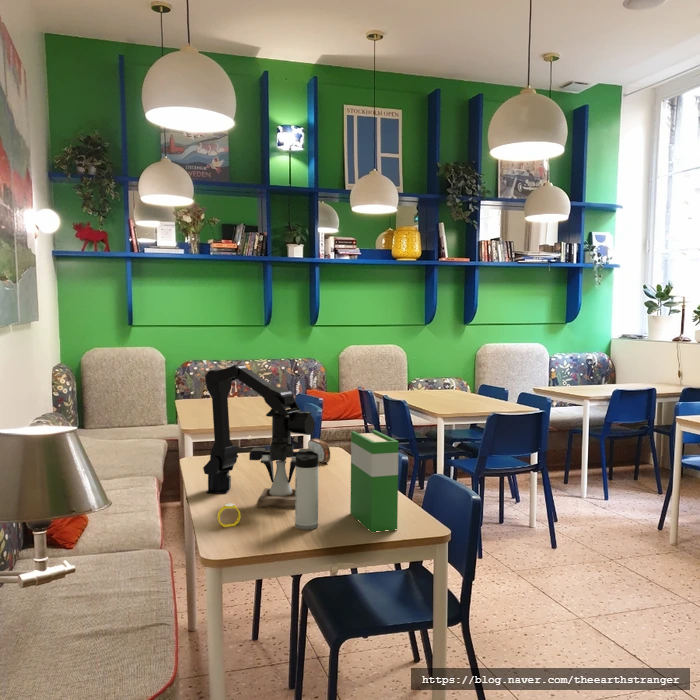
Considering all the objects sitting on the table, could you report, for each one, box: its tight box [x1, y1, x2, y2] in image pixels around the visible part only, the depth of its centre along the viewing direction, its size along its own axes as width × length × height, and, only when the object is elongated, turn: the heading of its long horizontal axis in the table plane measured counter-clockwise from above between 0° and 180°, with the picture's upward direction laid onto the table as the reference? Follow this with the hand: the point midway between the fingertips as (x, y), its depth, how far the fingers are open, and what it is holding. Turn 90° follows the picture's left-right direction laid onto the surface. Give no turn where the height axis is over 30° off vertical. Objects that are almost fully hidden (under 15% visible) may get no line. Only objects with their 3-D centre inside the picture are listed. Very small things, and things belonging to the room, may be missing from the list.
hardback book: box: [349, 429, 399, 533], centre depth 173 cm, size 18×7×24 cm, turn 18°
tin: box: [307, 437, 331, 464], centre depth 248 cm, size 15×3×8 cm, turn 30°
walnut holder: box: [257, 487, 295, 509], centre depth 192 cm, size 12×12×2 cm
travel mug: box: [294, 451, 320, 531], centre depth 169 cm, size 6×7×20 cm
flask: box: [269, 460, 293, 496], centre depth 191 cm, size 7×7×10 cm
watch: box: [217, 503, 241, 528], centre depth 169 cm, size 6×3×6 cm, turn 112°
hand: (281, 482), depth 191 cm, fingers closed on flask, 5 cm apart
